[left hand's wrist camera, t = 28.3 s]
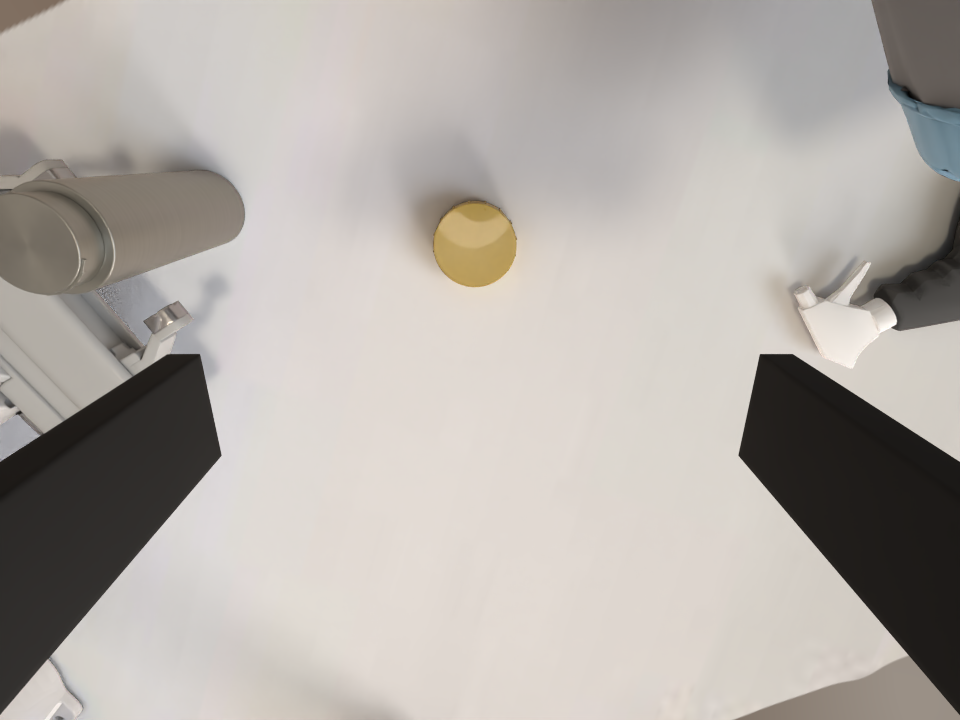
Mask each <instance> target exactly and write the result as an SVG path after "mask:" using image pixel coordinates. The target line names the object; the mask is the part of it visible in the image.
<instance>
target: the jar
mask: <svg viewBox="0 0 960 720" xmlns="http://www.w3.org/2000/svg"><path fill="white" fill-rule="evenodd" d="M244 218H245V212H244V205H243V202H242V199H241V197H240V195H239V193H238V192H237V190H236V189H235V187H234V186H233V185H232V184H231V183H230V182H229V181H228V180H226V179H225V178H224V177H222V176H220V175H219V174H217V173H214V172H211V171H206V170H193V171H177V172H161V173H145V174H129V175H113V176H97V177H81V178H65V179H49V180H34V181H29V182H25V183H22V184H20V185H18V186H17V187H15V188H14V189H12V190H11V191H9V192H7V193H5V194H1V195H0V277H1V278H3V279H4V280H5V281H7V282H8V283H10V284H11V285H13V286H15V287H17V288H19V289H21V290H24V291H27V292H31V293H34V294H41V295H47V296H50V295H60V294H63V293H64V294H83V293H88V292H91V291H94V290H97V289H99V288H102V287H105V286H108V285H111V284H113V283H116V282H119V281H122V280H125V279H127V278H130V277H133V276H136V275H139V274H141V273H144V272H147V271H150V270H153V269H155V268H158V267H161V266H164V265H167V264H169V263H172V262H175V261H178V260H181V259H183V258H186V257H189V256H192V255H195V254H197V253H200V252H203V251H206V250H209V249H211V248H214V247H217V246H220V245H223V244H225V243H228V242H230V241H231V240H233V239H234V238H235V237H236V236H237V235H238V234H239V233H240V231H241V229H242V227H243V224H244Z"/></svg>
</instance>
